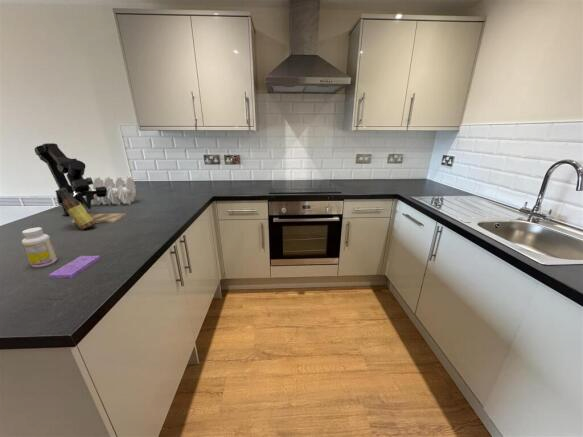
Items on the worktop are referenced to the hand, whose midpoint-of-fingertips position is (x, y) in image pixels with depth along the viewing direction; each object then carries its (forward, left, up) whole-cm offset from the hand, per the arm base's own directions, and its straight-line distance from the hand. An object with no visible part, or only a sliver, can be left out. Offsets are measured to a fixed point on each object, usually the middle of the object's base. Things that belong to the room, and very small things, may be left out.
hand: (89, 208), depth 116 cm
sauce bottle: (0, -3, -8) cm, 9 cm away
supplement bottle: (+7, -36, -9) cm, 38 cm away
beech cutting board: (-4, +11, -9) cm, 15 cm away
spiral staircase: (-13, +40, -9) cm, 43 cm away
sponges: (+20, -40, -10) cm, 46 cm away
